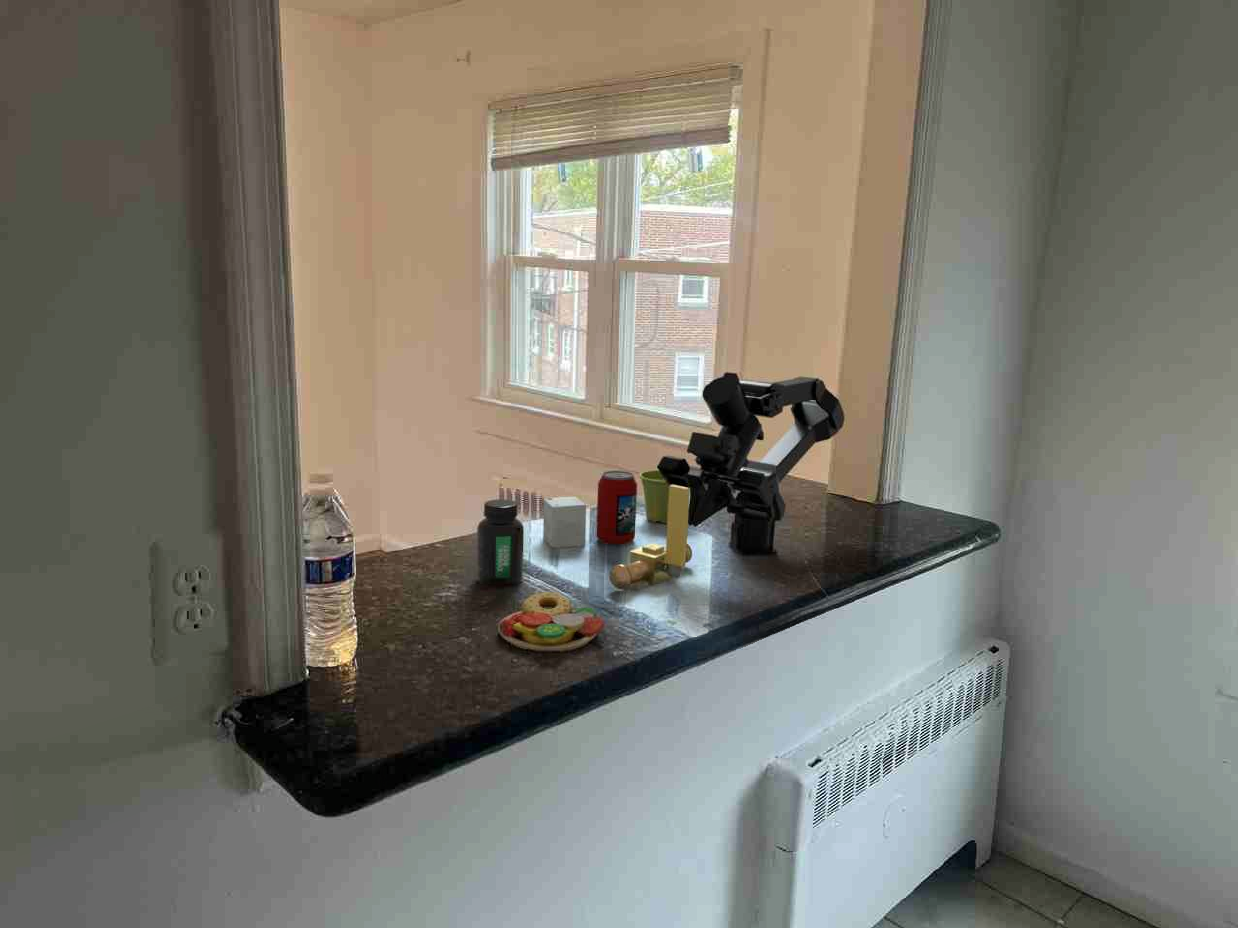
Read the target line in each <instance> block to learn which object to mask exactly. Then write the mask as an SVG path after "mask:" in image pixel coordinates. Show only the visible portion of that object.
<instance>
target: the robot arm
mask: <svg viewBox="0 0 1238 928" xmlns="http://www.w3.org/2000/svg"><path fill="white" fill-rule="evenodd" d="M702 398H703V401H704V402H705V404H706V406H707V408H708V410H709V412H710V414H711V416H712V418H713V419H714V421H715V422H716V424H718V425H719V426H721V429H720V431H719V432H718V434H717V436H716V435H715V434H714V435H713V434H708V433H702V432H695V431H693V432H691V435H690V438H689V442H688V446H687V448H686V449H687V450H686V452H687V454H691V455H693V456H695V459H694V461H695V463H696V465H698V466H694V465H689V463H688V461H687V460H686V458H683V457H679V456H678V457H677V456H673V455H669V454H668V455H664V456H662V458H661V459H660V461H659V462H658V464H657V466H656V468H657V470H659V471H660V473H661V474H662V476H663V477H664V479H665V481H666V482H667V484H668V485H669V486H670V485H677V486H682V487H687V488H690V494H689V512H688V526H692V527H698V526H699V525H700V524H702V523H703V522H705V521H706V520H708V519H709V518H710V517H712V516H713V515H716V513H719V512H720V511H722V510H723V509H725V508H726V511H727V513H728V514H734V521H732V523H731V528H730V529H731V530H730V541H729V542H728V545H729V547H731V548H733V549H734V550H735V551H737V552H738V553H739V554H741V555H742V556H757V555H759V556H760V555H774V554H775V555H776V554H778V552H779V551H778V550H777V549H776V548H774V542H775V541H774V540H775V530H776V529H775V528H776V522H780V521H782V519H783V517H784V515H785V512H786V506H787V504H786V503H785V501H784V499H783V497H782V495H781V492H780V483H781V482H782V481H783V480H784V478H785V477H786V476H787V475H788V474H789V473H790V472H791V470H793V469H794V467H795V466H796V465H797V464H798V463H799V462H800V461H801V459H802V458H804V456H805V455H806V454H807V453H808V452H809V450H810V449H811V448H812V447H813V446H814V445H815V444H817V443H820V442H824V441H828V440H830V439H832V438H833V437H834V436H835V435H836V434H838V433H839V431H840V430H841V429H843V426H844V423H845V413H844V411H843V408H842V405H841V402H840V400H839V399H838V398H837V397H836V396H835V395H834V394H833V393H832V392H830V391H829V390H828V389H827V387H826V385H825V383H824V381H823V380H822V379H820V378H817V377H808V376H798V377H797V376H795V377H794V378H792V379H786V380H779V381H775V382H774V381H773V382H767V381H760V380H753V379H745V378H744V379H742V380H741V379H740V378H739V376H738V374H737V372H730V371H729V372H728V371H725V372H724V373H723V375H722V376H720V377H717V378H715V379H713V380H712V381H710V382H709V383H708V384H706V385H705V386H704V387H703V390H702ZM787 406H791V407H790V412H791V414H792V416H793V420H794V424H793V426H792V427H790V429H789V430H788V431H787V432H786V433H785V434H784V435H783V436H782V437H781V438H780V440H779V441H778V442H777V443H776V444H774V446H772V448H771V449H770V450H769V451H768V452H767V453H766V455H764V457H762V458H761V460H759V461H756V460H750V459H748V456H749V454H750V453H751V450H752V449H753V446H754V445H755V442H756V441H764V439H765V434H764V433H765V432H764V431H763V425H762V423H761V422H760V420H759V418H758V417H762V418H769V419H772V418H775V417H777V416H778V415H780V414H781V413H782V412H783V411H784V410H783V409H784V407H787ZM699 466H700V467H699Z"/></svg>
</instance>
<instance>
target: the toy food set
mask: <svg viewBox="0 0 1238 928" xmlns="http://www.w3.org/2000/svg"><path fill="white" fill-rule="evenodd" d="M596 611H597V610H595V609H594V608H592V607H582V608H578V609H576V610H574V609H573V607H572V604H571V602H570V600H569V599H568V598H567V597H566V596H564V595H562V594H559V593H556V592H548V591H547V592H546V591H545V592H544V591H543V592H539V593H534V594H532V595H530V596H529V597H528V598H526V599H525V600H524V602H523V604H522V610H520V611H517V612H513V613H512V614H509V615H508V616H506V617H504V618H503V619H502V620H501V621H500V622H499V624H498V632H499V634H500V636H501V637H502V638H503V639H504V640H506V642H508V643H509V642H510V643H511V645H512V644H513V645H512V646H514V645H515V647H516V646H517V647H516V648H519V647H520V648H519V649H522V648H523V649H522V650H526V649H531V650H538V651H560V652H566V651H565V650H567V651H573V650H575V649H578V648H581V647H583V646H585V645H586V644H588V643H589V642H590V641H592V640H593V639H594V638H595V637H596V636H597V634H598V633H599V632H601V630H603V628H604V626H605V622H604V620H603V619H602V618H601V617H598V616H597V612H596ZM510 643H509V644H510ZM538 651H537V652H538Z"/></svg>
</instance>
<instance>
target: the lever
mask: <svg viewBox="0 0 1238 928" xmlns="http://www.w3.org/2000/svg"><path fill="white" fill-rule="evenodd" d="M689 502H690V488H687V487H682V486H677V485H670V486H669V500H668V519H667V523H666V540H665V541H666V542H665V547H666V558H665V563H668V564H670V565H669V567H668V576H670V577H673V578H674V579H679V578H681V576H682V573H683V572H682V567H683V566H685V567H686V565H687V563H686V547H687V544H688V526H689V524H688V512H689ZM673 578H672V579H673Z"/></svg>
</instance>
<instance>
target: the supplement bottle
mask: <svg viewBox="0 0 1238 928" xmlns="http://www.w3.org/2000/svg"><path fill="white" fill-rule="evenodd" d="M483 506H484V507H483V509H484V510H483V516H484V517H485V518H483V519H481V520H480V521H479V522H478V525H477V526H476V527H477V528H476V529H477V531H476V535H477V536H476V541H477V542H476V578H477V579H476V580H477V581H478V582H479V584H481V585H483V586H486V587H489V588H510V587H513V586H516V585H518V584H520V583H521V582H522V581H523V578H524V534H525V533H524V525H523V522H522V521H520V520H519V519H518V518H517V517H518V503H517V502H516V501H514V500H510V499H503V498H502V499H491V500H487V501H485V502H484V504H483Z"/></svg>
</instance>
